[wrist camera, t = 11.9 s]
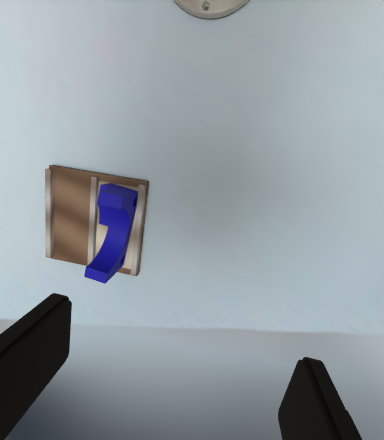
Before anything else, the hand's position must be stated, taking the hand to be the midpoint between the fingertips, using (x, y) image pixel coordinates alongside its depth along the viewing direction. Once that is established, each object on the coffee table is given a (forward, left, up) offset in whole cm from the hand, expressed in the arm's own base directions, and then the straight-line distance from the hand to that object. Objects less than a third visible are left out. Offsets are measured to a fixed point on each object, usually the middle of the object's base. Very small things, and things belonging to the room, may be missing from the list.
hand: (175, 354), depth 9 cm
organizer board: (+4, -17, -26) cm, 31 cm away
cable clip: (+4, -14, -25) cm, 29 cm away
